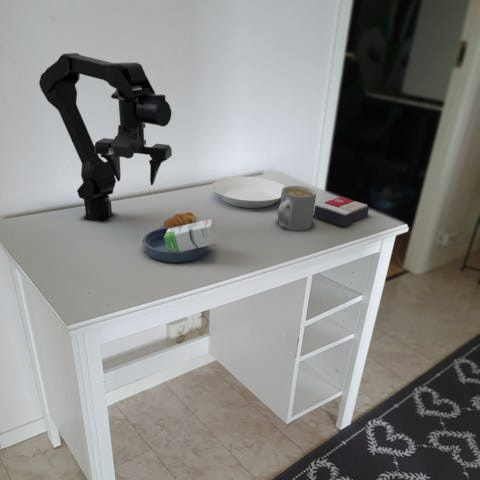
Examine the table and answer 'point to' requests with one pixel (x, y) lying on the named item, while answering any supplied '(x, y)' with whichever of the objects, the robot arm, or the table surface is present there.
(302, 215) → the coffee mug
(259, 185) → the bowl
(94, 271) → the table surface
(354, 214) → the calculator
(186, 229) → the ink box
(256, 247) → the table surface
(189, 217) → the pastry
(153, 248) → the glazed bowl
